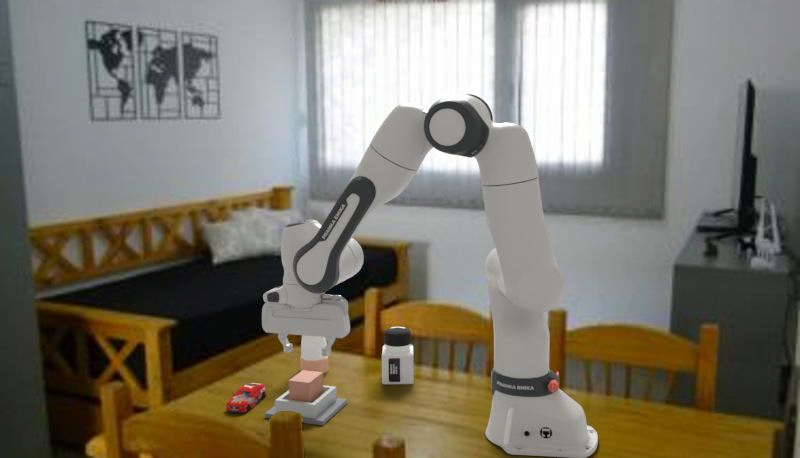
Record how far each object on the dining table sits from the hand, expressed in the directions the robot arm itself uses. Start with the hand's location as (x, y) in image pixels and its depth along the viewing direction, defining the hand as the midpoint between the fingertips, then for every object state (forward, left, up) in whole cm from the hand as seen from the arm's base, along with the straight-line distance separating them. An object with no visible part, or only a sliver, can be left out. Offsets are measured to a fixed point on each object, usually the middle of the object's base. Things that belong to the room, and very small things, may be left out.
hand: (307, 353), depth 169 cm
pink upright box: (0, 0, -12) cm, 12 cm away
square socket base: (0, 0, -13) cm, 13 cm away
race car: (+16, +1, -14) cm, 21 cm away
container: (-13, -25, -13) cm, 31 cm away
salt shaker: (+10, -25, -13) cm, 30 cm away
